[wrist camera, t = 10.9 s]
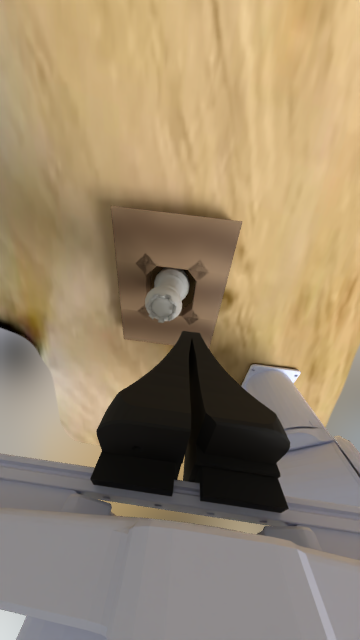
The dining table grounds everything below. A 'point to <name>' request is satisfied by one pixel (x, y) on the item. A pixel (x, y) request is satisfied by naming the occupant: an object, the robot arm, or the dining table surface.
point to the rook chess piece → (167, 294)
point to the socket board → (175, 252)
